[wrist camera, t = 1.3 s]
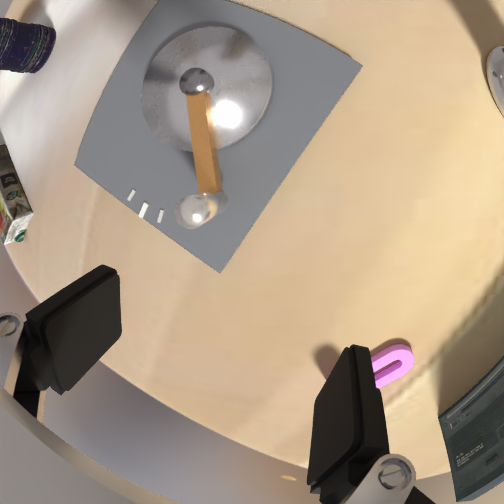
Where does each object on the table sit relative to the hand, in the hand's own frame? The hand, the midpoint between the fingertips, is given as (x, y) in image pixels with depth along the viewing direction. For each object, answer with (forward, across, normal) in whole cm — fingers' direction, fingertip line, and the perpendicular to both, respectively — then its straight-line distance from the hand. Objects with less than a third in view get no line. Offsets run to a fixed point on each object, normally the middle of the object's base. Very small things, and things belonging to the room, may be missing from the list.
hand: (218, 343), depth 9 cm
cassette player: (+23, -47, +15) cm, 54 cm away
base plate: (+23, +13, -9) cm, 28 cm away
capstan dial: (+21, +10, -8) cm, 25 cm away
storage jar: (+23, +50, -21) cm, 59 cm away
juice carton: (+24, +54, +8) cm, 60 cm away
